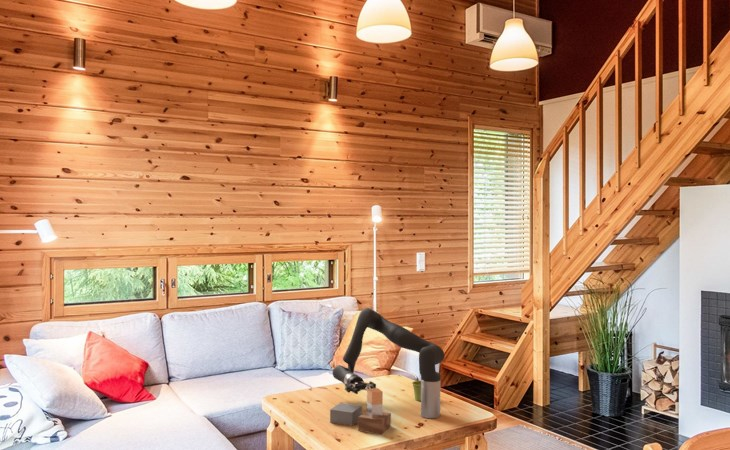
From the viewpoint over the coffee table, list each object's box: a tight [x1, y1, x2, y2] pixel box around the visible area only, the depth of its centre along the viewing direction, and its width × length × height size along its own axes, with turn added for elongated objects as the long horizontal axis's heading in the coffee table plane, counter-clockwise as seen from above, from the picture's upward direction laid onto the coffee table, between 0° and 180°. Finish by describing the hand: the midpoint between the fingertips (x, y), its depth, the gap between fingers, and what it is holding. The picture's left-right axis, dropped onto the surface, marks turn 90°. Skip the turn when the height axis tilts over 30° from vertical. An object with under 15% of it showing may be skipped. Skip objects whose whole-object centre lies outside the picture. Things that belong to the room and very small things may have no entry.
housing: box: [366, 387, 383, 418], centre depth 265 cm, size 5×6×11 cm
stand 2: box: [357, 410, 392, 435], centre depth 265 cm, size 11×11×6 cm
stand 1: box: [329, 402, 363, 427], centre depth 276 cm, size 11×11×6 cm
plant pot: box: [411, 380, 421, 402], centre depth 308 cm, size 9×9×9 cm
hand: (365, 391), depth 276 cm, fingers open, 8 cm apart
